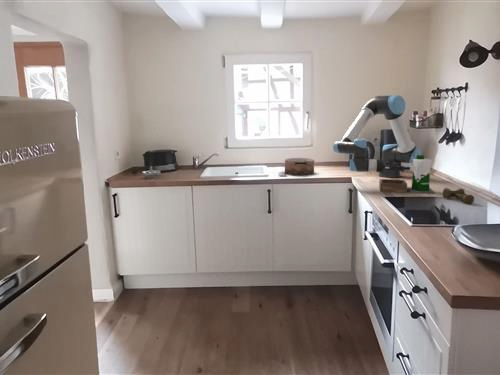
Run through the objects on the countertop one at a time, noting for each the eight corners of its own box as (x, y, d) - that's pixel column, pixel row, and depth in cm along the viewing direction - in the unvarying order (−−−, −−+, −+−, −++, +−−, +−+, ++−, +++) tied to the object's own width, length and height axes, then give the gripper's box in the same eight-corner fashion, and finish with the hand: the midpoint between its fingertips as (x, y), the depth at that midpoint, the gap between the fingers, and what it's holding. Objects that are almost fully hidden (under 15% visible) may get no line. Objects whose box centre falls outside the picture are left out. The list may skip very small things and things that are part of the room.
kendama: (460, 205, 192) (437, 196, 212) (478, 205, 193) (454, 196, 212) (461, 194, 191) (439, 185, 210) (480, 194, 192) (455, 185, 211)
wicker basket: (316, 176, 281) (316, 161, 279) (285, 176, 282) (286, 161, 280) (311, 170, 311) (311, 157, 309) (283, 170, 312) (284, 157, 310)
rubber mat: (407, 188, 234) (407, 187, 234) (430, 189, 230) (430, 188, 230) (409, 192, 222) (409, 191, 221) (434, 193, 218) (434, 192, 218)
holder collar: (379, 186, 239) (379, 178, 238) (403, 187, 235) (404, 179, 234) (380, 191, 225) (380, 183, 224) (406, 192, 221) (407, 184, 220)
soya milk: (421, 187, 231) (423, 154, 228) (432, 190, 223) (435, 156, 219) (408, 188, 229) (411, 155, 225) (419, 191, 220) (422, 157, 217)
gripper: (374, 169, 242) (410, 170, 237) (376, 175, 219) (417, 176, 213) (375, 157, 241) (411, 158, 235) (377, 162, 217) (418, 163, 212)
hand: (414, 166), depth 224 cm, fingers open, 13 cm apart
